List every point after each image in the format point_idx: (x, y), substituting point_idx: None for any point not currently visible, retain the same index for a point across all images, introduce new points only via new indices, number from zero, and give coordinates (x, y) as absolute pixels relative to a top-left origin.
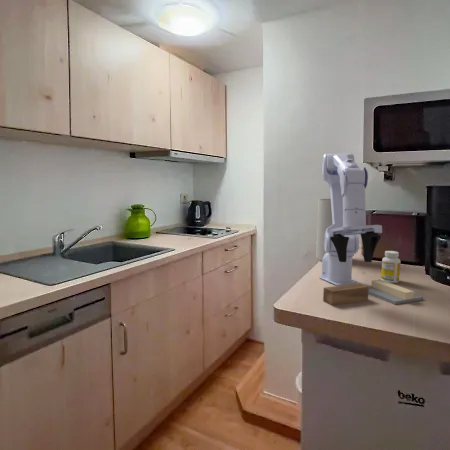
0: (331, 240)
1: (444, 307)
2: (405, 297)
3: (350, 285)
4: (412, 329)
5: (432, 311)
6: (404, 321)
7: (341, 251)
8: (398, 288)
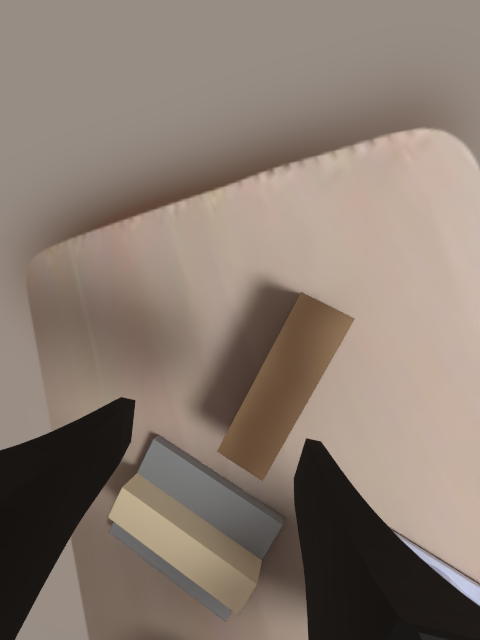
0: (473, 601)
1: None
2: (131, 478)
3: (277, 423)
4: (79, 277)
5: None
6: (104, 316)
7: (320, 507)
8: (151, 524)
